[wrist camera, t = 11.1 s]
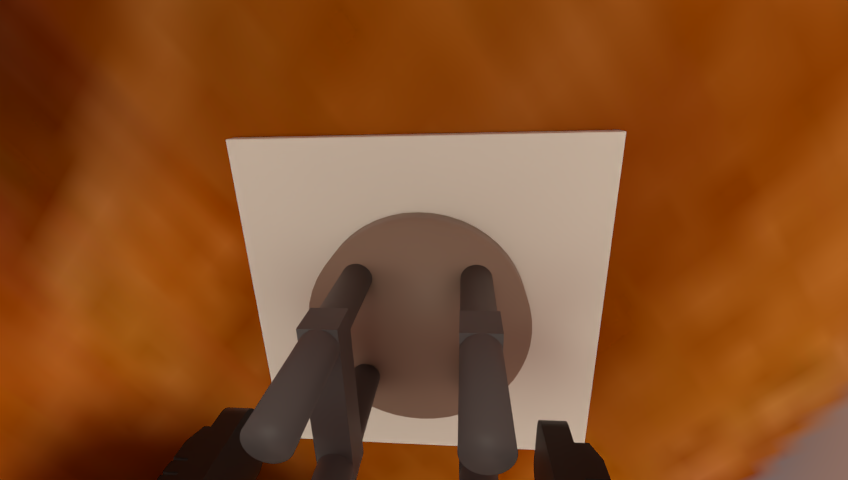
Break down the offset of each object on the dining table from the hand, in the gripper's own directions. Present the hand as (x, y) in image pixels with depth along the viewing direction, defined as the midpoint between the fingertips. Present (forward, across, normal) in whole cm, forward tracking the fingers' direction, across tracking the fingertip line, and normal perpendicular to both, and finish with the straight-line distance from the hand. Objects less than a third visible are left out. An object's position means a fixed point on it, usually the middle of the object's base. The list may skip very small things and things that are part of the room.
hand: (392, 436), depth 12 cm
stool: (+7, 0, 0) cm, 7 cm away
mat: (+8, 0, 0) cm, 8 cm away
